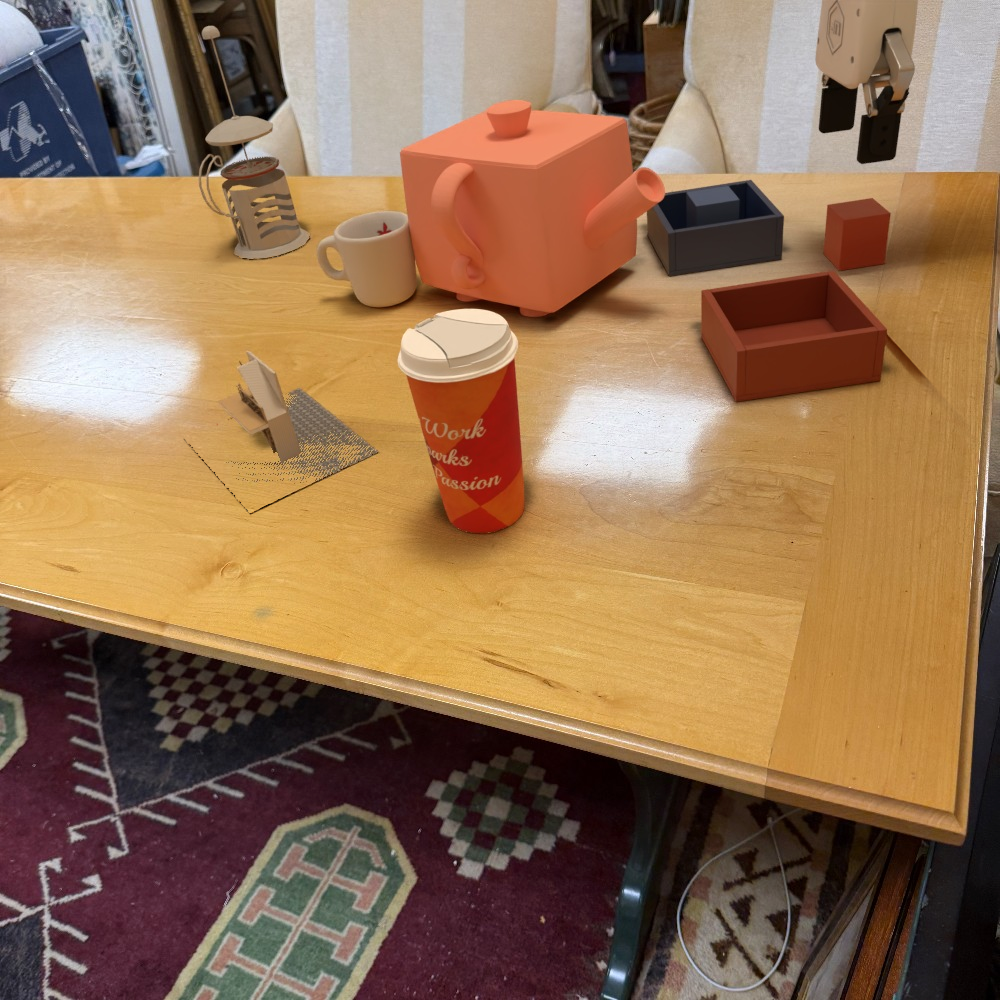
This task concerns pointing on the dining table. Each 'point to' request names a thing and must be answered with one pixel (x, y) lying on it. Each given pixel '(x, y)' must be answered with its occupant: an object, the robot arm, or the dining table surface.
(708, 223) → the slate block
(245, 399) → the architectural model
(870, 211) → the red block
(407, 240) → the cup
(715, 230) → the slate bin
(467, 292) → the teapot
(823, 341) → the terracotta bin
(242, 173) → the french press
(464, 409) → the paper cup
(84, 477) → the dining table surface
